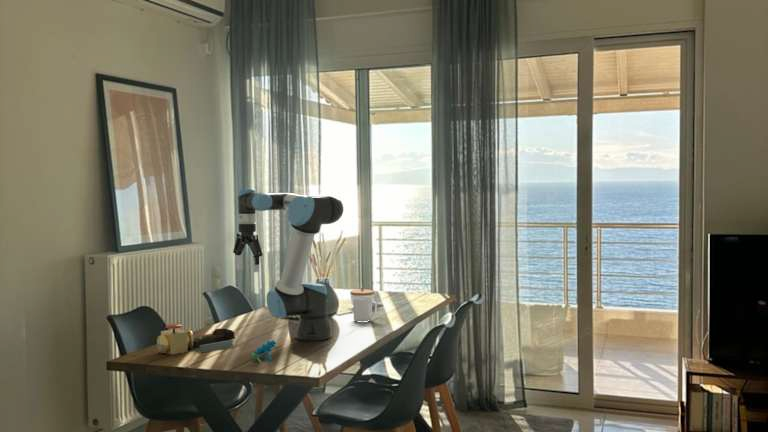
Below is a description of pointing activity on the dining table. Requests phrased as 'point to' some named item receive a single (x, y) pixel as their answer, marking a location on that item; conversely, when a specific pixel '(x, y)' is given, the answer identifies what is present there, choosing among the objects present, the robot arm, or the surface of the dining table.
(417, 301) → the dining table surface
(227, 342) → the blue-grey u-shaped block
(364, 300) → the mug
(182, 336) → the brass valve
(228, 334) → the dark brown elongated piece
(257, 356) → the blue green toy
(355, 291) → the lidded bowl
